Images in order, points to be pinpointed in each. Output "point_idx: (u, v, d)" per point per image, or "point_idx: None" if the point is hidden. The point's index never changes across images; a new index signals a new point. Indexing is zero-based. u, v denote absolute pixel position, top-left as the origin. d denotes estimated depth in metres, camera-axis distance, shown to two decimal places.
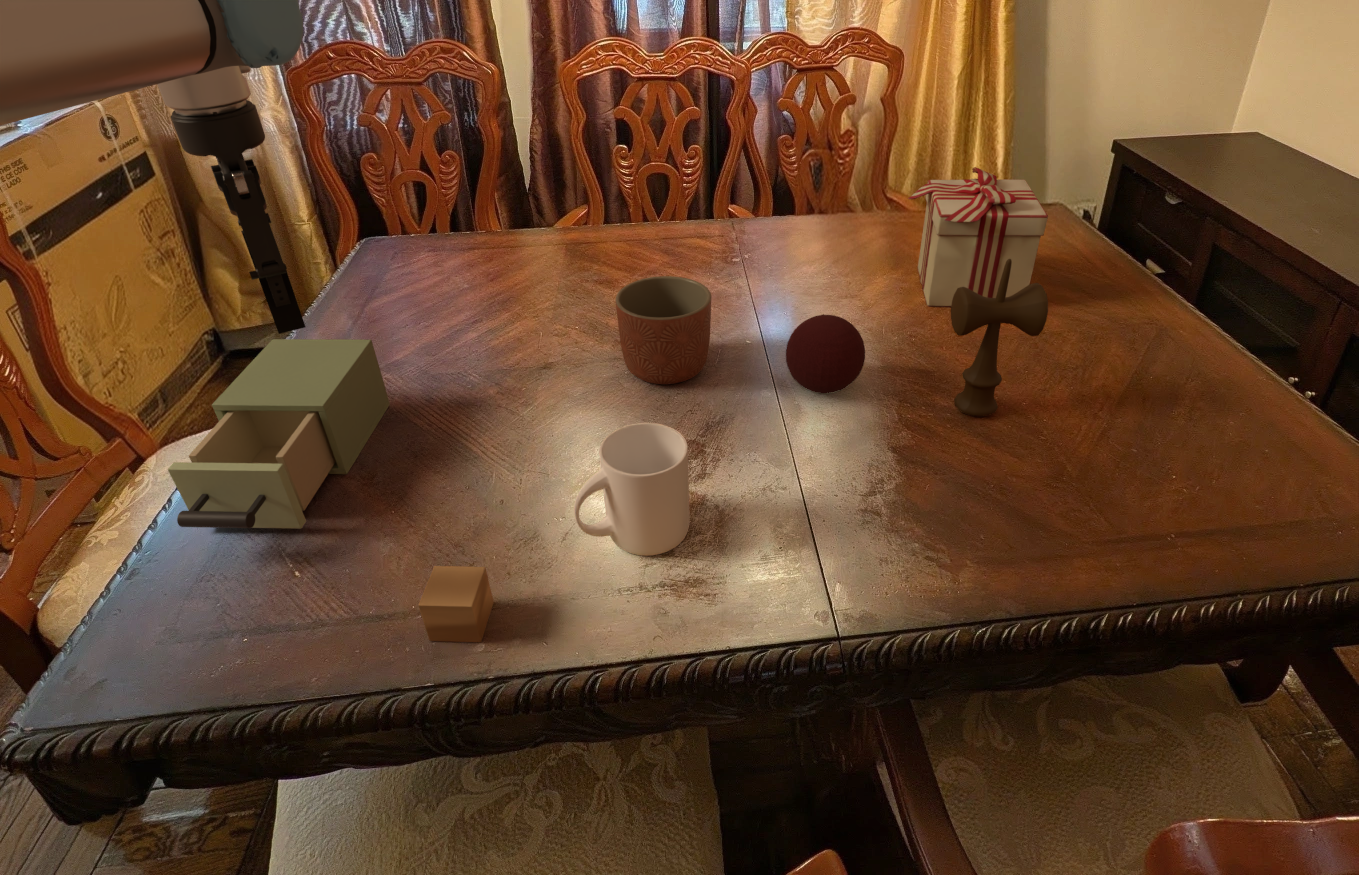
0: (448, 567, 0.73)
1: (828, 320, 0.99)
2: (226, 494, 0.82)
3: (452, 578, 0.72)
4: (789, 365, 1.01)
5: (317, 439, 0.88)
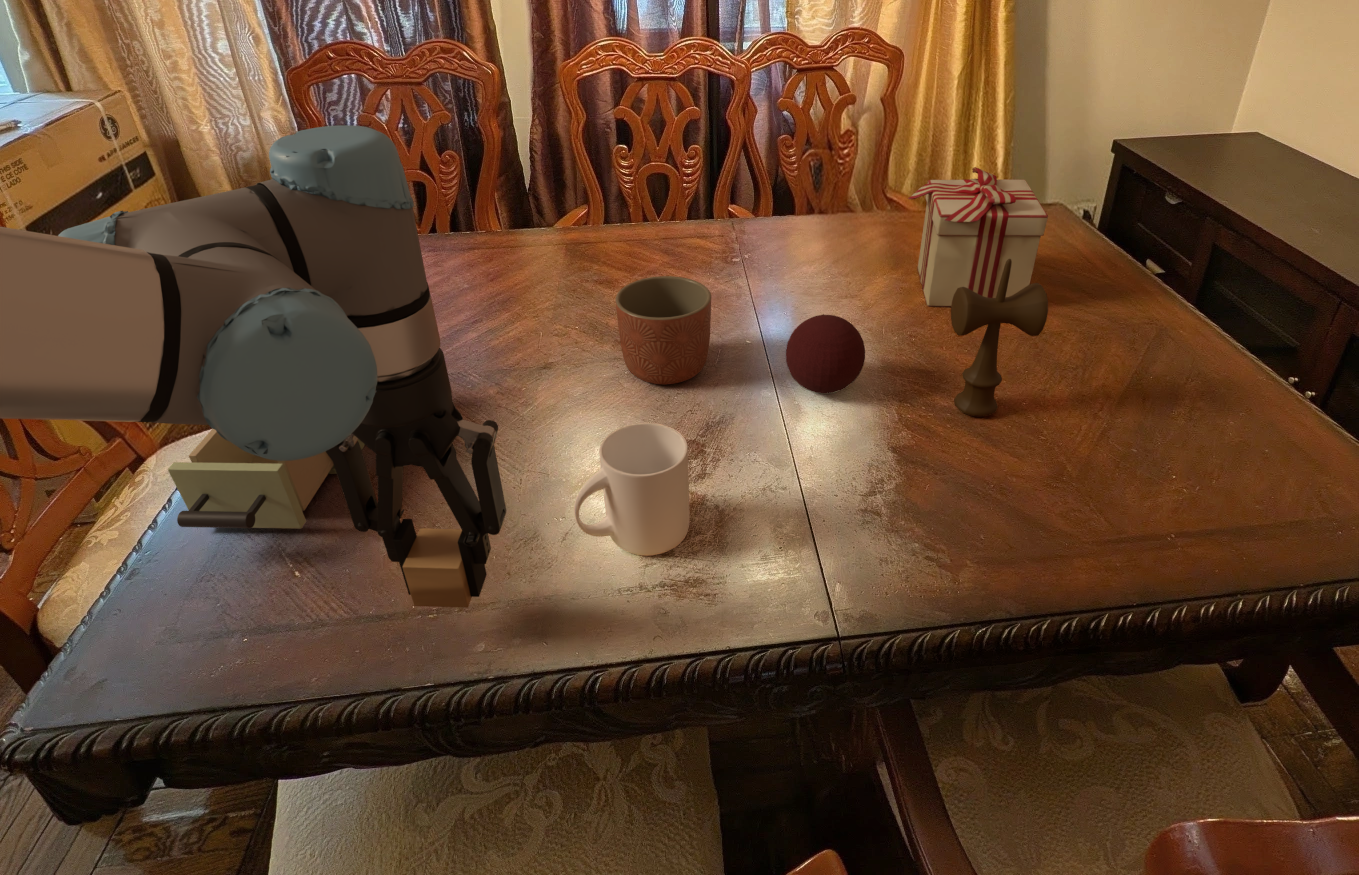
0: (434, 530, 0.70)
1: (828, 320, 0.99)
2: (226, 494, 0.82)
3: (438, 541, 0.69)
4: (789, 365, 1.01)
5: None
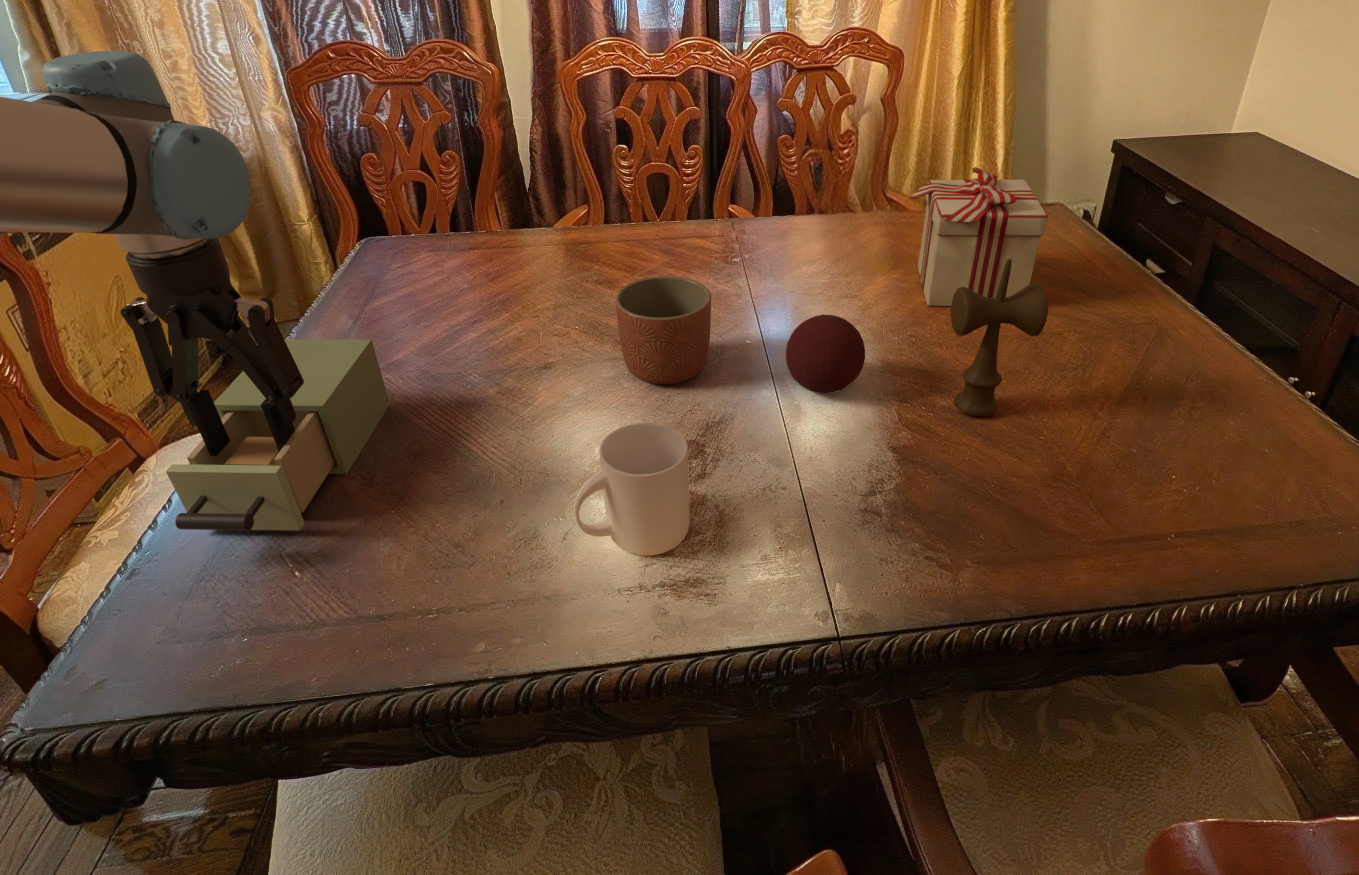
0: (257, 438, 0.87)
1: (828, 320, 0.99)
2: (224, 496, 0.81)
3: (258, 445, 0.86)
4: (789, 365, 1.01)
5: (315, 441, 0.88)
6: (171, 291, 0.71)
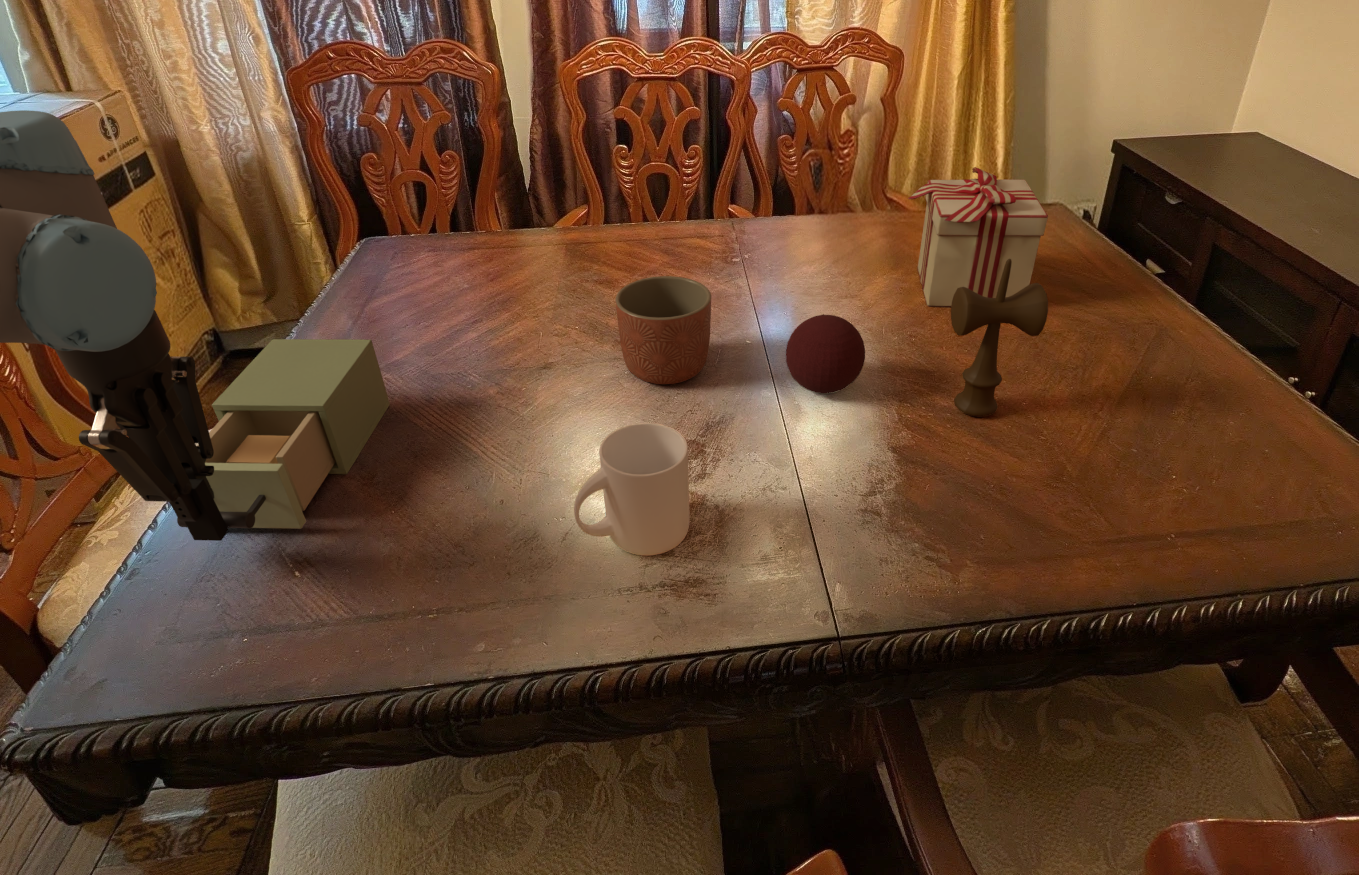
0: (259, 436, 0.87)
1: (828, 320, 0.99)
2: (226, 494, 0.82)
3: (260, 443, 0.86)
4: (789, 365, 1.01)
5: (316, 439, 0.88)
6: None
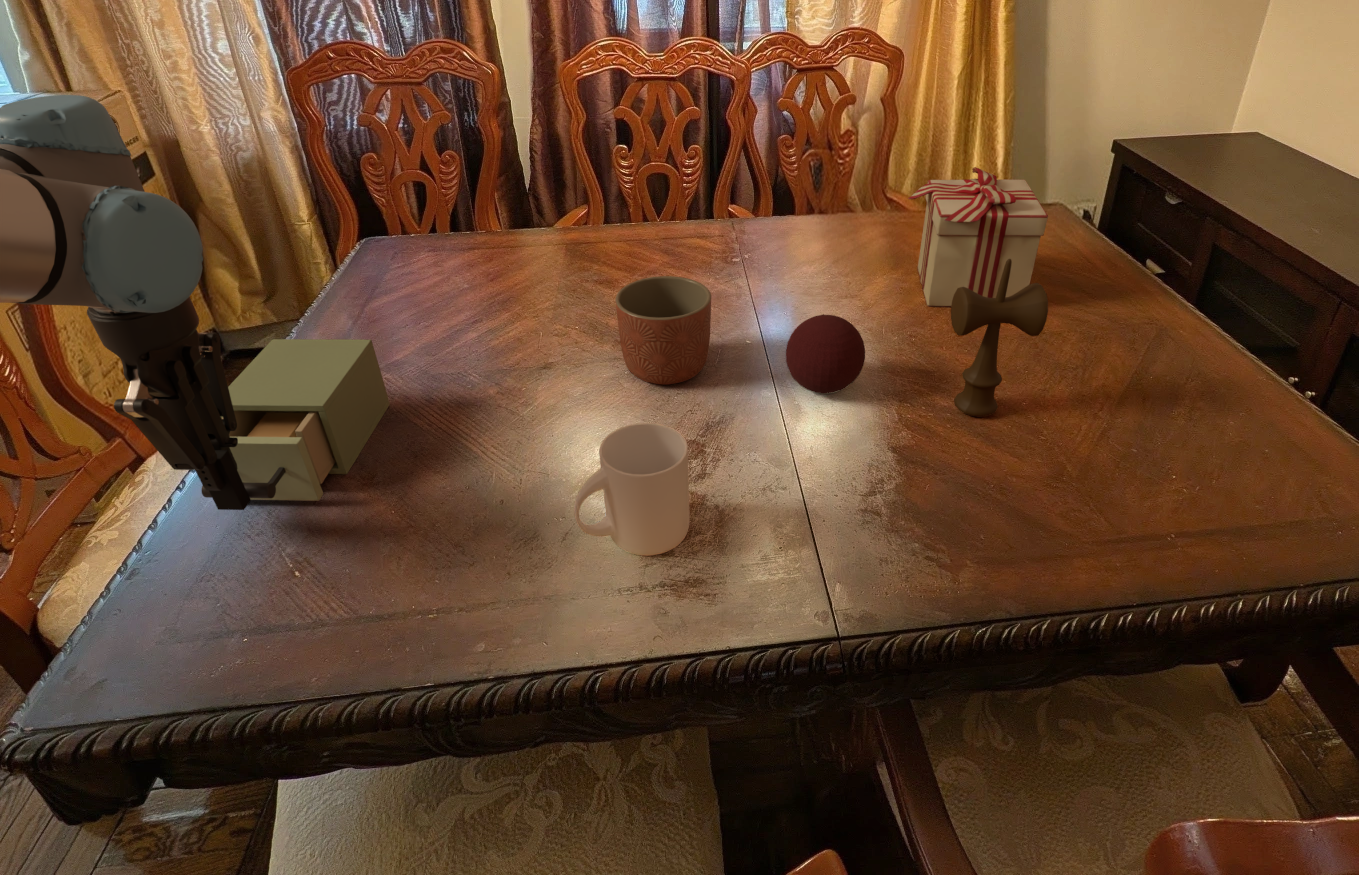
0: (277, 413, 0.91)
1: (828, 320, 0.99)
2: (247, 466, 0.85)
3: (278, 420, 0.90)
4: (789, 365, 1.01)
5: None
6: None
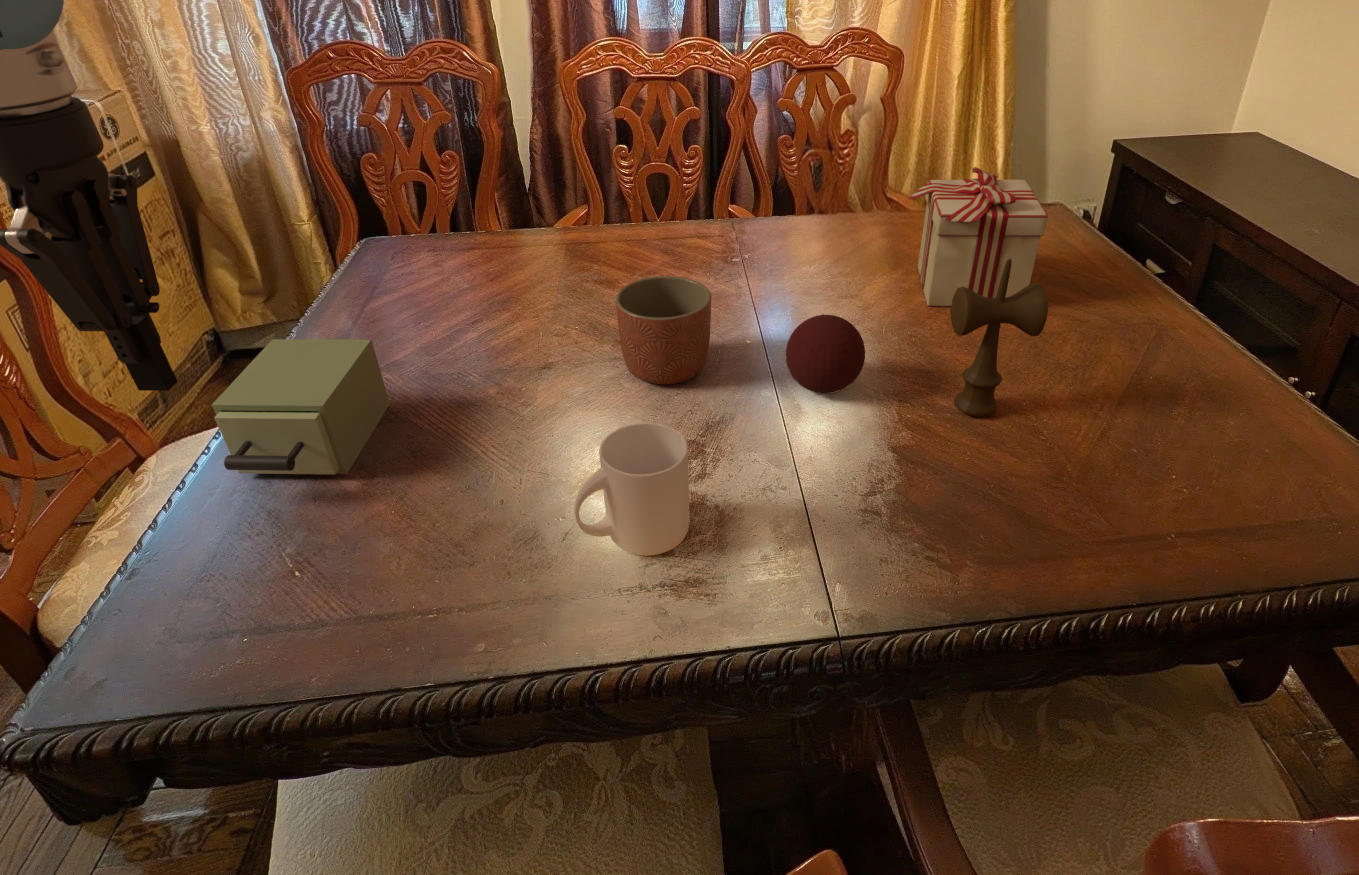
0: None
1: (828, 320, 0.99)
2: (267, 441, 0.89)
3: None
4: (789, 365, 1.01)
5: None
6: None
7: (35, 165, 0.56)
